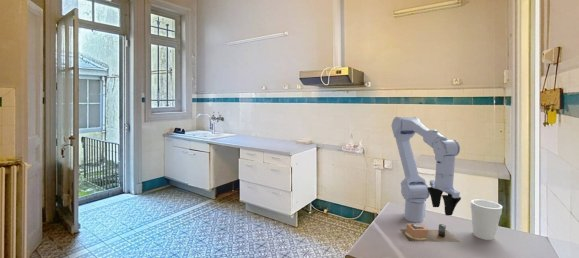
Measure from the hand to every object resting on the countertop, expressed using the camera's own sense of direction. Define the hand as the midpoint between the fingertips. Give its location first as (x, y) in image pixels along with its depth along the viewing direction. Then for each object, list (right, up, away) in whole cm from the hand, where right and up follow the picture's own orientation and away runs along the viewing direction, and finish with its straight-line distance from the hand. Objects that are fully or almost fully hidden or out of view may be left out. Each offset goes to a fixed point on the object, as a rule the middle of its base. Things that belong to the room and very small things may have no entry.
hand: (442, 210), depth 103 cm
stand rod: (+1, -10, +1) cm, 10 cm away
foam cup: (+16, -11, +2) cm, 19 cm away
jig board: (-4, -10, +1) cm, 11 cm away
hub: (-9, -10, +1) cm, 13 cm away
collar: (-9, -9, +1) cm, 12 cm away
